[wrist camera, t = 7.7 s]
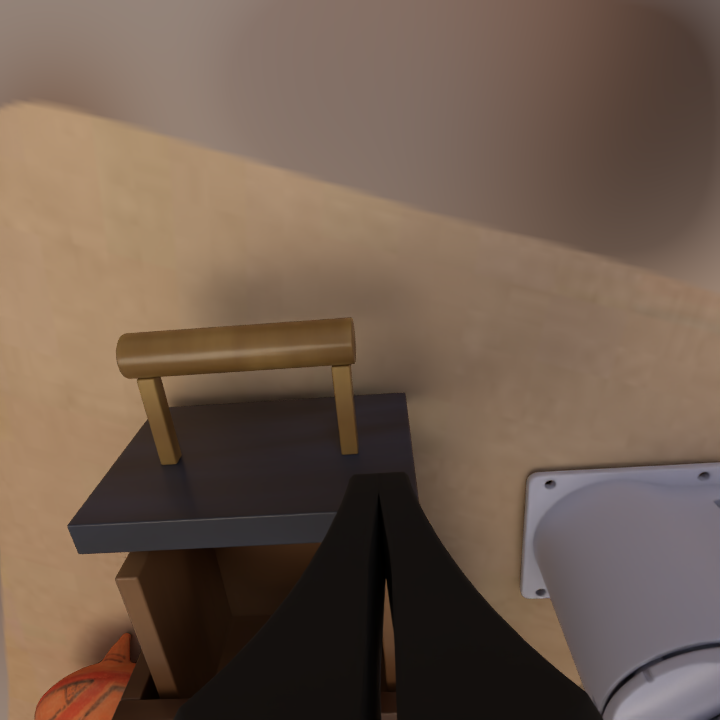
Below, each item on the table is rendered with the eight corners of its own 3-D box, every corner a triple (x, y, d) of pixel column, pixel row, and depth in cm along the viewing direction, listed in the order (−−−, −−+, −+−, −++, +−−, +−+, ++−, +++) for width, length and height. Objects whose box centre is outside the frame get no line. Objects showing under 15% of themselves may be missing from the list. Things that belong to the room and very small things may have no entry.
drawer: (125, 299, 21) (7, 383, 14) (399, 279, 20) (413, 356, 13) (212, 609, 28) (163, 762, 21) (416, 601, 27) (430, 755, 21)
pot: (38, 626, 30) (-13, 751, 23) (181, 599, 31) (168, 710, 25) (73, 719, 33) (35, 851, 26) (202, 689, 34) (194, 808, 28)
